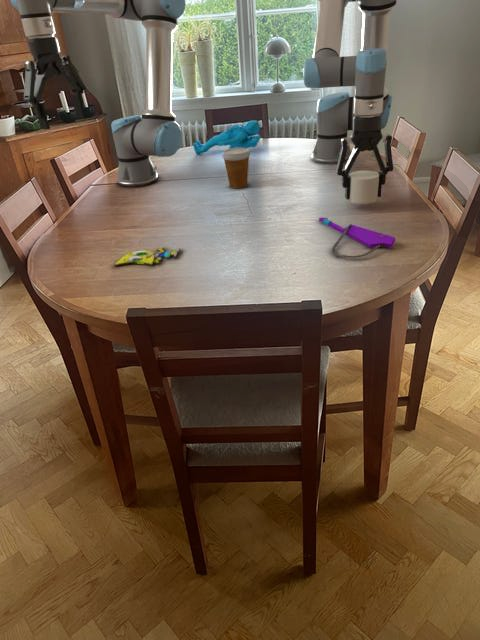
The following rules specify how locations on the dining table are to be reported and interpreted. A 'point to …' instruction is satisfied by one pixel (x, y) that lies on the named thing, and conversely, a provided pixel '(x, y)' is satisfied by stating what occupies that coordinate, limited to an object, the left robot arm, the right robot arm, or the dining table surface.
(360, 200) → the canister
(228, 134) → the toy
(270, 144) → the dining table surface
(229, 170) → the disposable coffee cup
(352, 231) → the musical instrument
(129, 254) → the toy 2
